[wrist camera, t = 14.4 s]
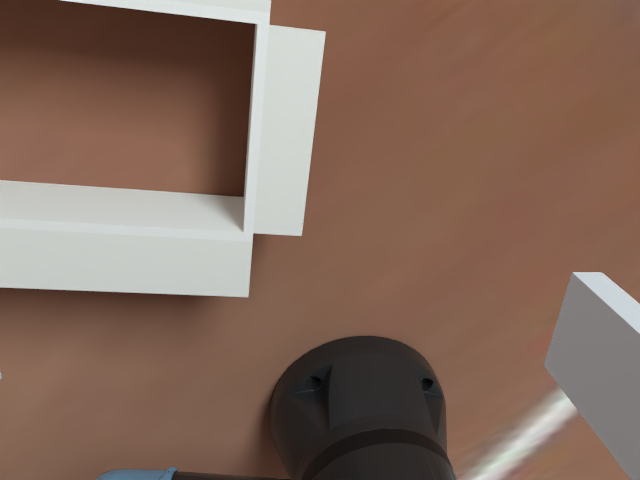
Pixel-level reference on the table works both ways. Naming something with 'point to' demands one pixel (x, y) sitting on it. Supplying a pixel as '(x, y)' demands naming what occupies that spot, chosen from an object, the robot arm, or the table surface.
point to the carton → (173, 207)
